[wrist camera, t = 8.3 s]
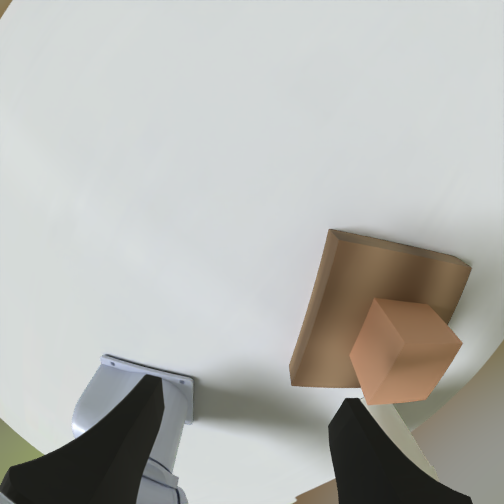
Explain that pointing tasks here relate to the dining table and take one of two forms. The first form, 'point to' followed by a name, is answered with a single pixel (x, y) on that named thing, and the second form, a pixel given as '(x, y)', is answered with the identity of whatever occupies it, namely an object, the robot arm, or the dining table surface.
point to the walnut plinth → (366, 300)
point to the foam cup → (400, 435)
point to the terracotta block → (402, 352)
